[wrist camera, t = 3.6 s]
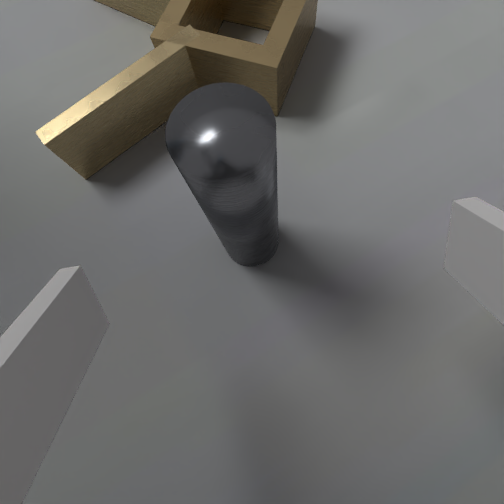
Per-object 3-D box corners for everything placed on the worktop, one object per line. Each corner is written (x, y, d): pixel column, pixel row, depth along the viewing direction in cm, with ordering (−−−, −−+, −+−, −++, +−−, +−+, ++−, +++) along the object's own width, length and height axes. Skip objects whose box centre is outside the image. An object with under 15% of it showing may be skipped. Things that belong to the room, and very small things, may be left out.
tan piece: (-3, 149, 26) (-60, 110, 22) (103, -21, 30) (72, -82, 25) (230, 228, 22) (219, 201, 18) (314, 25, 26) (321, -36, 22)
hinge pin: (216, 255, 22) (146, 160, 11) (236, 208, 23) (191, 71, 11) (267, 273, 21) (252, 193, 10) (285, 224, 22) (291, 97, 11)
